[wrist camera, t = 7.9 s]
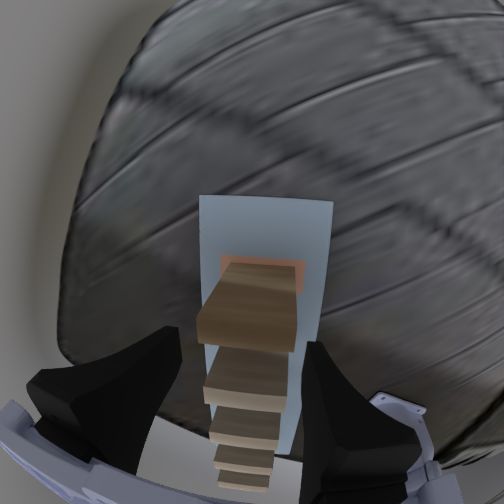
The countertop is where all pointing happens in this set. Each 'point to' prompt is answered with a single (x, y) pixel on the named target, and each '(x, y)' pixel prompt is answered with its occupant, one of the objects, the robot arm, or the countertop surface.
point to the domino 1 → (251, 309)
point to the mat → (270, 253)
